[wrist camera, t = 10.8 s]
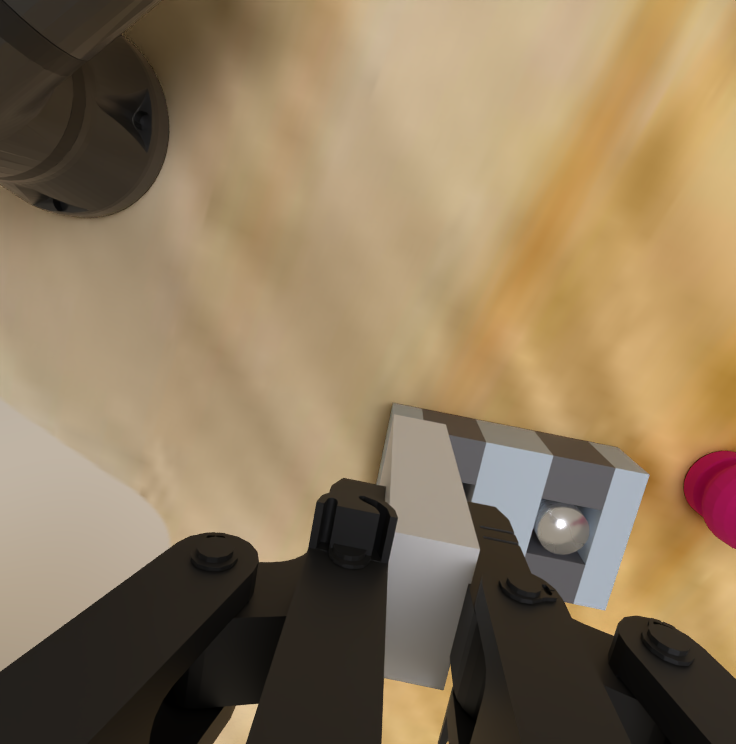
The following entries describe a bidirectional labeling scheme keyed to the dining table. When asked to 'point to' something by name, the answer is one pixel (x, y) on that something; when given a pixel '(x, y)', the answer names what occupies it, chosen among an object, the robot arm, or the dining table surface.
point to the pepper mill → (715, 493)
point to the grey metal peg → (560, 527)
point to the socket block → (548, 494)
